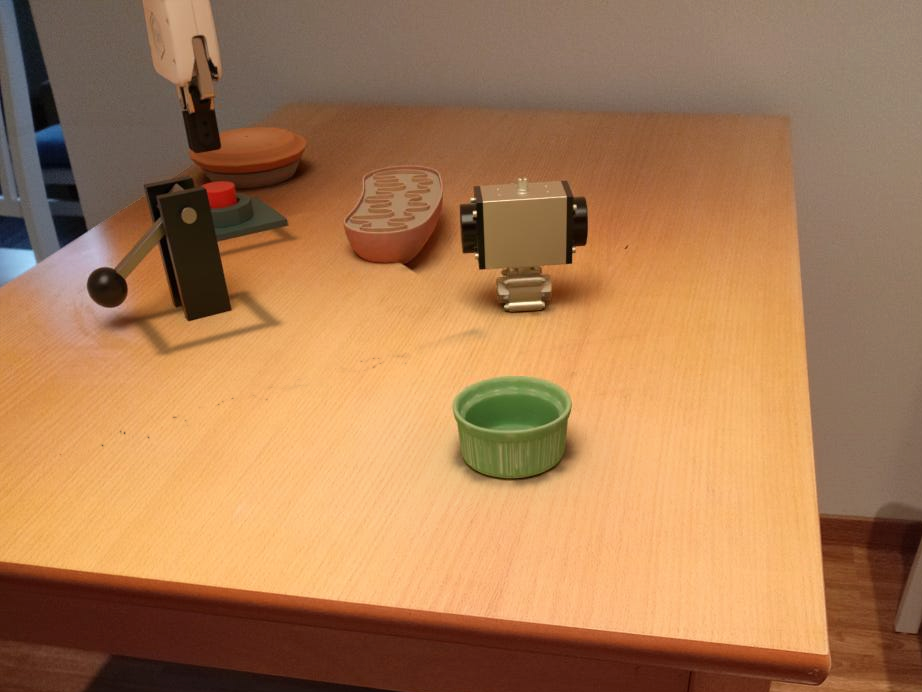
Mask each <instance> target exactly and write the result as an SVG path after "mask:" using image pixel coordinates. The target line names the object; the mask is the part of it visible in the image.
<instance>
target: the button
mask: <svg viewBox="0 0 922 692" xmlns="http://www.w3.org/2000/svg"><path fill="white" fill-rule="evenodd" d="M202 186H203V187H204V188H206V189H207V194H208V199H209V204H210V209H213V208H224V207H229V206H233V205H235V204H237V203H238V201H237V196H236V192H237V191H236V189H235V185H234V184H233V183H231V182H226V181H217V182H212V181H210V182H207V183H204V184H202V185H200V187H202Z"/></svg>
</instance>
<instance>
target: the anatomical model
mask: <svg viewBox="0 0 922 692" xmlns="http://www.w3.org/2000/svg"><path fill="white" fill-rule="evenodd" d="M443 199H444V183H443V180H442V175H441V173H440V172H439V170H437V169H435V168H432V167H429V166H423V165H409V164H406V165H404V164H403V165H393V166H385V167H382V168H377V169H374V170H372V171H369V172H367V173H366V174H365V175H364V176H363V177H362V190H361V193H360V196H359V199H358V200H357V202H356V204H355V205H354V207H353V208H352V209H351V210H350V211H349V213H348V214H347V215H346V216H345V217H344V218H343V220H342V224H343V228H344V232H345V235H346V238H347V241H348V242H349V244H350V247H351V248H352V249H353V251H354V252H355V253H356V254H357V255H358V256H359V257H360V258H362V259H363V260H365V261H367V262H371V263H376V264H377V263H379V264H391V263H400V264H401V265H405V264H407V263H409V262H410V261H412V260H413V259H415V257H417V256H418V255H419V253H420V252H421V251H422V249H423V248H424V246H425V245H426V243H427V242H428V240H429V239H430V237H431V236H432V234H433V233H434V231H435V229H436V227H437V225H438V222H439V219H440V215H441V212H442V210H443Z"/></svg>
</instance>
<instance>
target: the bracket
mask: <svg viewBox="0 0 922 692" xmlns="http://www.w3.org/2000/svg"><path fill="white" fill-rule="evenodd" d="M175 184H178V185H179V186H180V187H182V188H183V189H184V190H182V191H177V192H172V193H168V192H169V191H170V190H171V189H172V188H173V186H174V185H175ZM201 186H202V185H201ZM201 186H198V187H195V183H194V179H193V177H192V176H191V175H184V176H179V177H174V178H170V179H165V180H161V181H160V180H159V181H155V182H150V183H145V184H143V189H144V193H145V197H146V201H147V205H148V209H149V211H150V212H149V213H150V217H151V221H152V224H154V223H155V222H156V221H157V220H158V219H159V218H160V217H161V219H162V223H163V227H164V231H165V235H164V236H163V237H162V239H161V240H160V241H159V242H158V243H157V245H158V249H159V254H160V258H161V261H162V262H161V263H162V265H163V269H164V274H165V278H166V281H167V286H168V290H169V294H170V299H171V302H172V305H173V306H174V308H175V309H176V308H181V307H182V310H183V314H184V319H185V320H186V321H187V322H192V321H195V320H200V319H204V318H208V317H212V316H216V315H220V314H224V313H227V312H232V311H233V310H232V305H231V300H230V295H229V291H228V285H227V281H226V276H225V271H224V267H223V262H222V257H221V253H220V248H219V243H218V242H219V241H218V242H217V237H216V233H215V228H214V223H213V218H212V213H211V209H210V204H209V199H208V194H207V189H206V188H204V187H203V186H202V187H201ZM157 204H158V206H159V208H158V207H157Z"/></svg>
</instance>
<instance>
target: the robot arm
mask: <svg viewBox="0 0 922 692" xmlns="http://www.w3.org/2000/svg"><path fill="white" fill-rule="evenodd" d="M141 1H142V6H143V7H142V8H143V13H144V19H145V25H146V31H147V36H148V37H147V38H148V44H149V49H150V54H151V60H152V65H153V68H154V70H155V72H156V73H157V74H158V75H159V76H162V78H164V79H166V80H167V81H168V82H170V83H172V84H174V85H175V87H176V92H177V96H178V100H179V104H180V105H179V106H180V108H181V114H182V119H183V124H184V129H185V134H186V139H187V144H188V148H189V150H192V151H193V152H195V153H202V152H208V151H214V150H219V149H220V148H221V142H220V136H219V133H220V132H219V125H218V119H217V115H216V107H215V98H216V91H215V87H214V83H213V82H215V83H217V82H219V81H220V79H221V78H222V76H223V68H222V67H223V66H222V59H221V52H220V47H219V40H218V36H217V30H216V26H215V25H216V24H215V20H214V16H213V10H212V7H211V2H210V0H141Z"/></svg>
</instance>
